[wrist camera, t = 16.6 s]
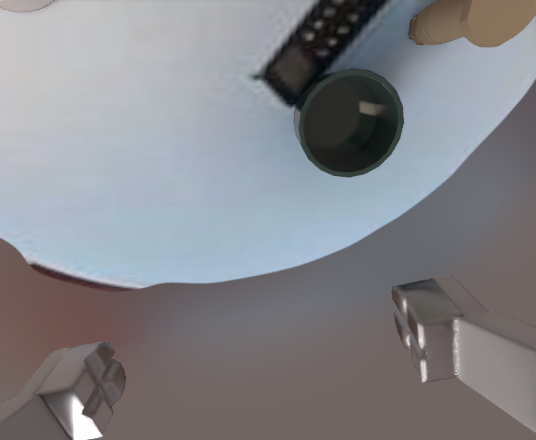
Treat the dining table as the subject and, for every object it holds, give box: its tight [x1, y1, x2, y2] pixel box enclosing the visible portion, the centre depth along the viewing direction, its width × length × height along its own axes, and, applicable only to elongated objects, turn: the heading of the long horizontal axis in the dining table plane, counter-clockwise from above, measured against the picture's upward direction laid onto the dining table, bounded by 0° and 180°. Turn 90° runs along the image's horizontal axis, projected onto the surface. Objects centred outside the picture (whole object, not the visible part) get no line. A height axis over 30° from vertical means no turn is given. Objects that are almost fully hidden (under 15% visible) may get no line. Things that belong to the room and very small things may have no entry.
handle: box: [408, 0, 536, 47], centre depth 31 cm, size 5×6×15 cm
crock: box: [293, 69, 404, 177], centre depth 38 cm, size 11×11×8 cm
